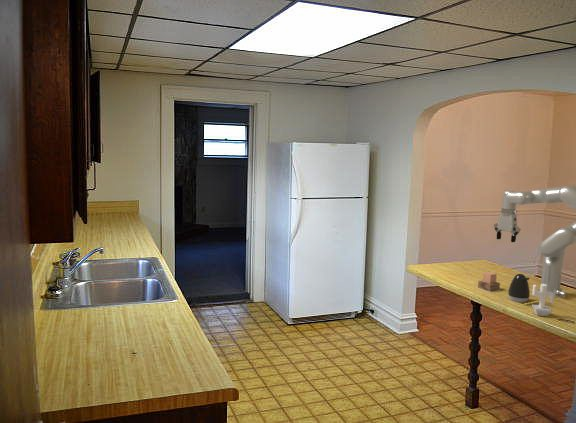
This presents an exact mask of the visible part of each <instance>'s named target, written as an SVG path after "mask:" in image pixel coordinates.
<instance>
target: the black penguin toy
mask: <svg viewBox="0 0 576 423" xmlns="http://www.w3.org/2000/svg"><path fill="white" fill-rule="evenodd" d="M529 280H530V277H526V275H524V274H523V273H517V274H515V276H514V277H513V278H512V280H511V283H510V285H509V288H508V293H507V295H508V297H509V299H510V300H511V301H512V302H515V303H519V304H525V303H527V301H529V298H530V297H531V296H530V295H531V292H530V285H529V282H528V281H529Z"/></svg>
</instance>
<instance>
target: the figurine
mask: <svg viewBox="0 0 576 423" xmlns="http://www.w3.org/2000/svg"><path fill="white" fill-rule="evenodd" d="M537 287H538V286H537V285H536V284H533V285H532V296H533V297H538V298H539V302H538V304H533V303H532V304H531V306H532V308H533V311H534V313H535V315H536V316H537V317H539V316H540V317H548V316H549V315H550V314H551V312H552V311H553V310H552V308H551V307H549V305H546V298H549V300H548V303H550V304H553V303H554V298H555V296H554V294H553V292H546V290H547V285H545V284H541V283H540V287H539V290H540V289H541V290H540V291H537V290H538V289H537Z"/></svg>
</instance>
